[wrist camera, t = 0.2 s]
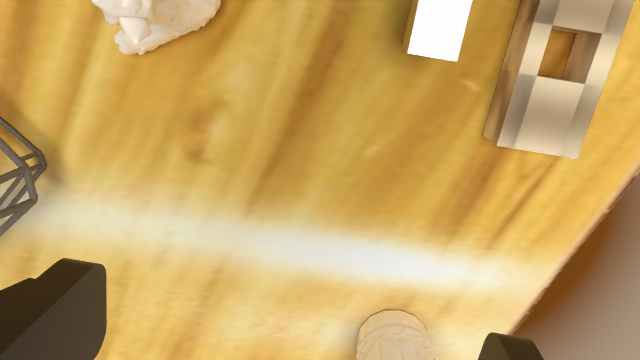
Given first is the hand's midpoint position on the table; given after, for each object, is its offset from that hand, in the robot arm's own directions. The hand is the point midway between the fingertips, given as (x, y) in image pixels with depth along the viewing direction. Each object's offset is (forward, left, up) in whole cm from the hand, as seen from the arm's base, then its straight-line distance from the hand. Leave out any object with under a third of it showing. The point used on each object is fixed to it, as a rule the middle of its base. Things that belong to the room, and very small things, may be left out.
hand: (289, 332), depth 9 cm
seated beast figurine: (-7, -13, -28) cm, 32 cm away
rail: (-10, +16, -28) cm, 34 cm away
